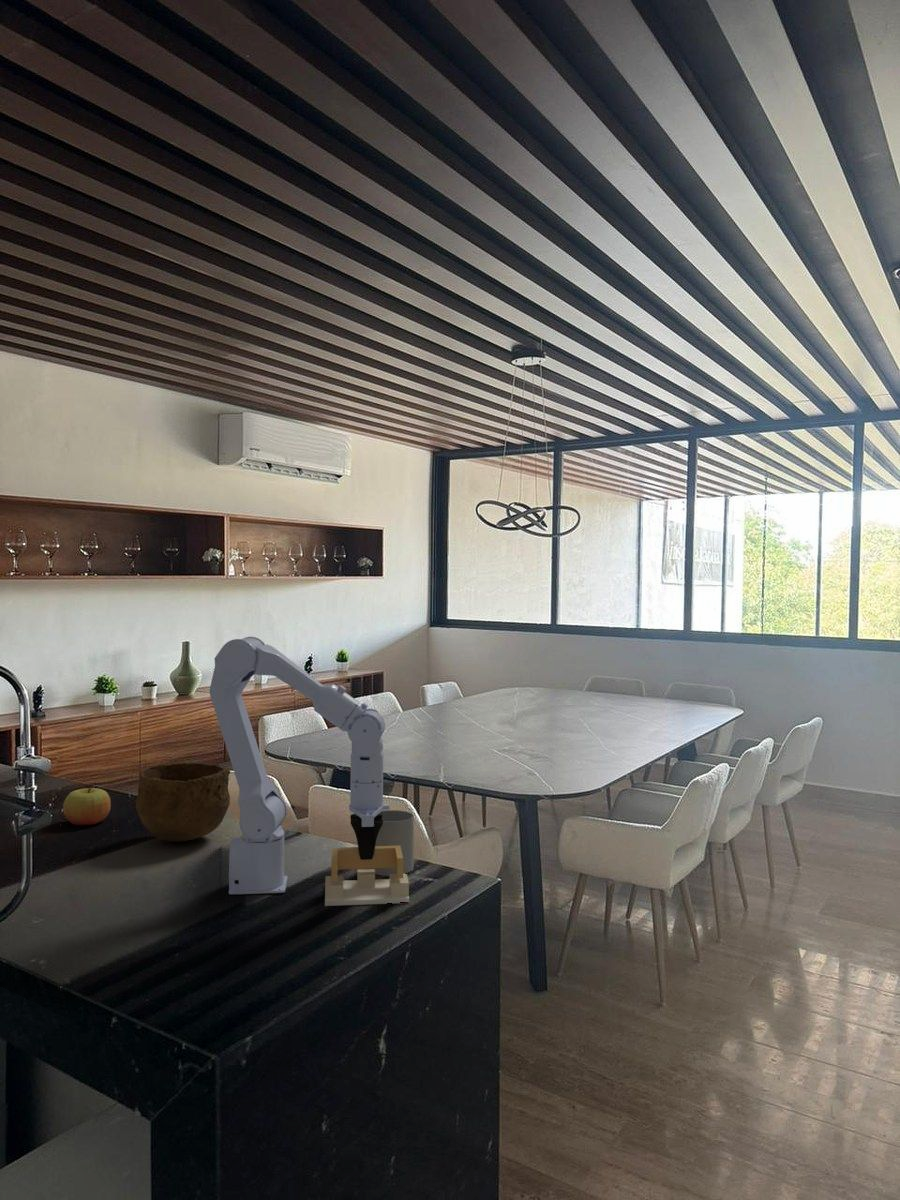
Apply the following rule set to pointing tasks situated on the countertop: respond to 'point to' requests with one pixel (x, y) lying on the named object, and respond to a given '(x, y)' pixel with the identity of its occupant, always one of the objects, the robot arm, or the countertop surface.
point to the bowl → (182, 799)
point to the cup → (397, 838)
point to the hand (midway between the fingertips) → (366, 857)
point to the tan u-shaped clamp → (351, 860)
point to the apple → (87, 806)
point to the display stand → (366, 889)
